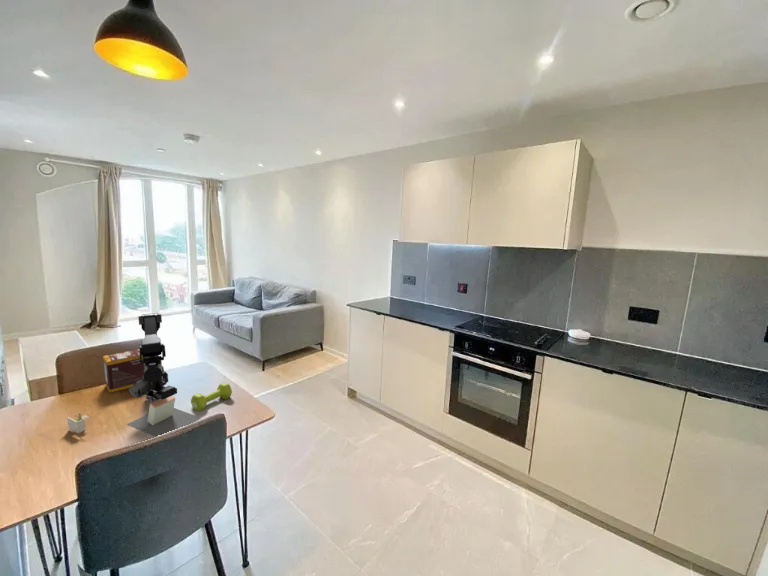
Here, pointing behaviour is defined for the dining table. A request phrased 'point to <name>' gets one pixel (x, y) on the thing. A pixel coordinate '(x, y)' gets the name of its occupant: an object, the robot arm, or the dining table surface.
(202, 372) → the dining table surface
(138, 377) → the supplement box
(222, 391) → the dumbbell
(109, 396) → the dining table surface
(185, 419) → the mat
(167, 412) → the slab
